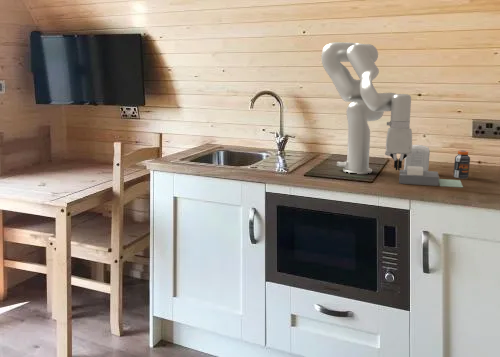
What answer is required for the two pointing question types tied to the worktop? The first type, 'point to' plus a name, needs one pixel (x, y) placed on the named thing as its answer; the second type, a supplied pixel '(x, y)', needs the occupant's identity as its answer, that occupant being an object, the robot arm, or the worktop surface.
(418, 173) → the tile
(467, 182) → the worktop surface
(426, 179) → the plate
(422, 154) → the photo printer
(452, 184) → the mat
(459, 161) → the pill bottle
